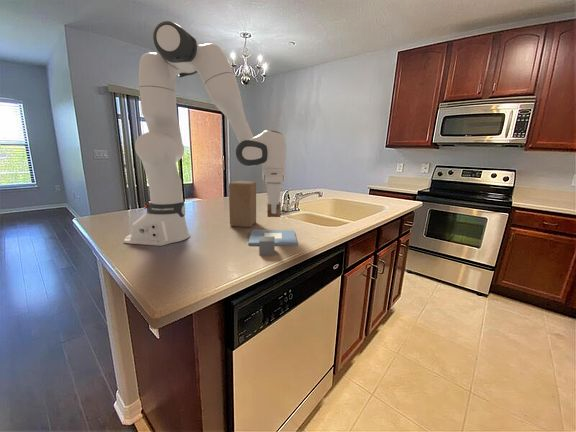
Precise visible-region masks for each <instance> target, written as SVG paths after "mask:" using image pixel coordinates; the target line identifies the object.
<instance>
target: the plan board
mask: <svg viewBox="0 0 576 432" xmlns="http://www.w3.org/2000/svg"><path fill="white" fill-rule="evenodd" d="M260 236H261V237H275V245H274V246H298V242H297V237H296V233H295V230H294V229H251V232H250V235H249V239H248V244H247V245H248V246H259V240H260Z"/></svg>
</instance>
